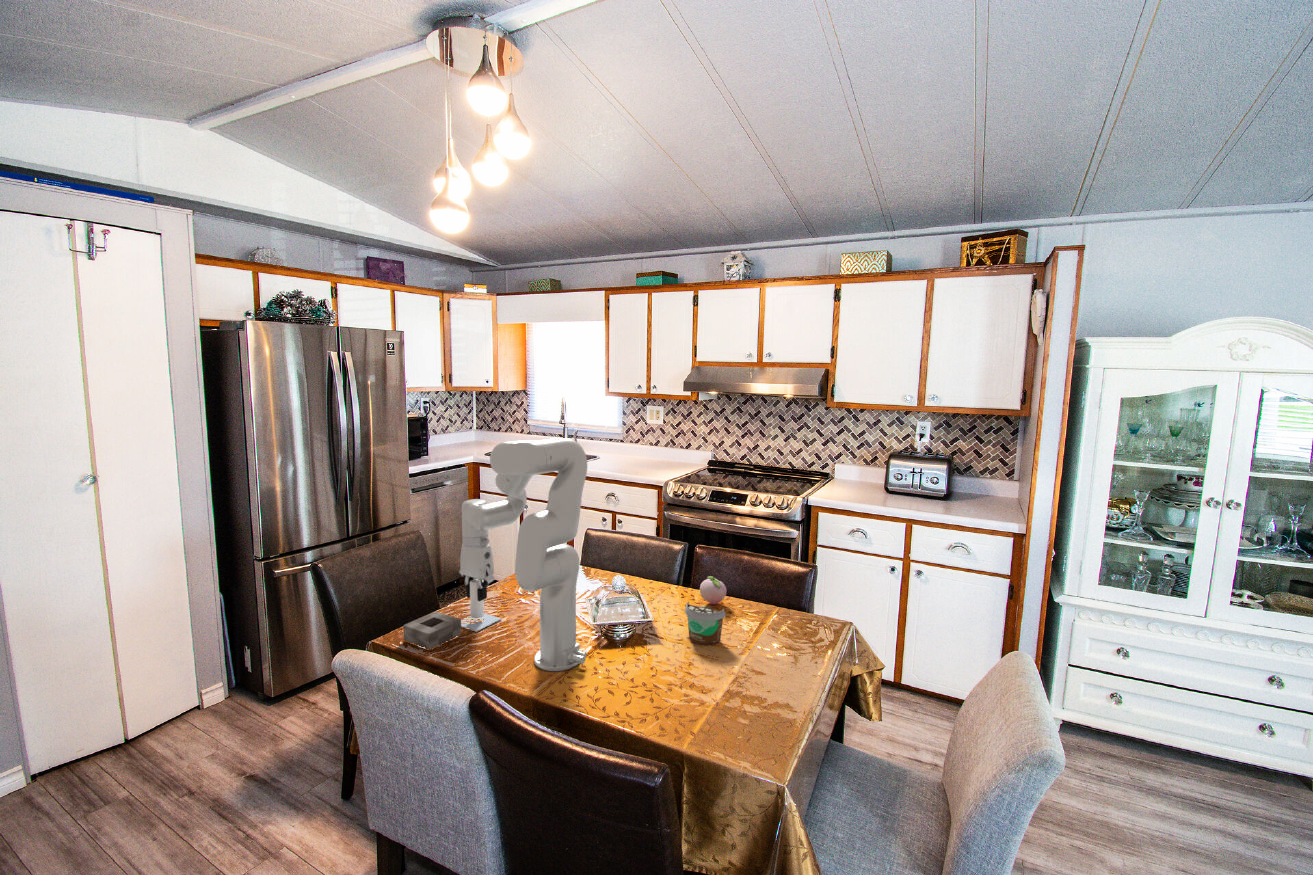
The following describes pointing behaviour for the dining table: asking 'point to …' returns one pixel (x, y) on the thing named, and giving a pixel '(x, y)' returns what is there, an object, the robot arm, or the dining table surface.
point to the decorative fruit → (712, 590)
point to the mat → (487, 621)
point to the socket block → (432, 630)
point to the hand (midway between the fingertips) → (476, 597)
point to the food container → (704, 624)
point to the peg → (475, 600)
